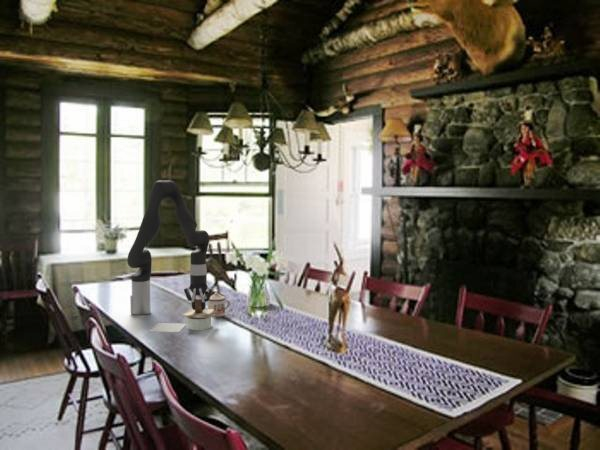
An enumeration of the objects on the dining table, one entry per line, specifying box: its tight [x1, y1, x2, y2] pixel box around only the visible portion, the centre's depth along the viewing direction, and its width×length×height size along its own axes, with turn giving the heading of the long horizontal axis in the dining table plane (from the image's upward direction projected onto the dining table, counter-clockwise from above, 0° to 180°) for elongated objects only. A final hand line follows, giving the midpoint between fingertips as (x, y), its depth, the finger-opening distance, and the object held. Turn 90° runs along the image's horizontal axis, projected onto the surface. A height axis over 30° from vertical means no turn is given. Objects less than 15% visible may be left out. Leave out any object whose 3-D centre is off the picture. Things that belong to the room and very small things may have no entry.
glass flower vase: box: [246, 282, 271, 307], centre depth 290 cm, size 13×13×18 cm
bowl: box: [186, 315, 212, 331], centre depth 243 cm, size 11×11×6 cm
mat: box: [148, 322, 187, 333], centre depth 242 cm, size 14×14×1 cm
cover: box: [182, 298, 214, 318], centre depth 242 cm, size 12×12×7 cm
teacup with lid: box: [207, 292, 231, 318], centre depth 267 cm, size 12×9×12 cm
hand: (198, 309), depth 242 cm, fingers closed on cover, 3 cm apart
